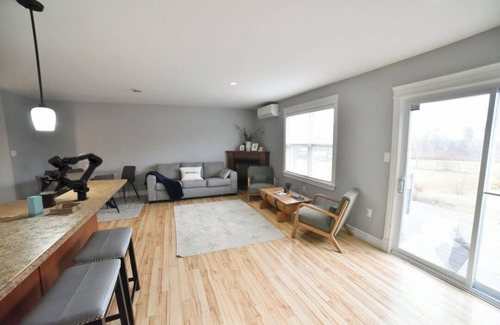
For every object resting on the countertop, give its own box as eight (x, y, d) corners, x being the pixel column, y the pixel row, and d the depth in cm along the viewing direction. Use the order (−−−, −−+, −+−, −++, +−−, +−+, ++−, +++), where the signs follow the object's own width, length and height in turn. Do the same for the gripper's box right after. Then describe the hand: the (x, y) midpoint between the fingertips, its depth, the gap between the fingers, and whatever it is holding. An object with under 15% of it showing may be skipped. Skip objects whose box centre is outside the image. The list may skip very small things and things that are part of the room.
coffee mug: (49, 208, 141) (48, 194, 140) (37, 208, 141) (35, 194, 140) (65, 203, 152) (63, 190, 151) (53, 203, 152) (52, 190, 151)
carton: (65, 207, 144) (65, 202, 144) (85, 205, 147) (85, 201, 146) (46, 216, 127) (45, 211, 126) (69, 215, 129) (68, 209, 129)
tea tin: (37, 213, 131) (34, 195, 130) (43, 214, 131) (41, 195, 130) (28, 216, 127) (26, 197, 125) (35, 216, 126) (33, 197, 125)
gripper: (39, 165, 138) (23, 185, 129) (65, 165, 137) (51, 185, 128) (52, 174, 147) (38, 193, 138) (77, 174, 146) (64, 194, 137)
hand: (47, 191), depth 135 cm, fingers open, 9 cm apart
